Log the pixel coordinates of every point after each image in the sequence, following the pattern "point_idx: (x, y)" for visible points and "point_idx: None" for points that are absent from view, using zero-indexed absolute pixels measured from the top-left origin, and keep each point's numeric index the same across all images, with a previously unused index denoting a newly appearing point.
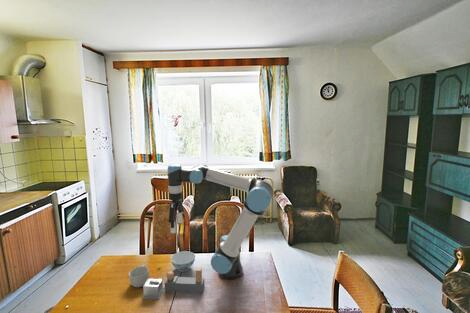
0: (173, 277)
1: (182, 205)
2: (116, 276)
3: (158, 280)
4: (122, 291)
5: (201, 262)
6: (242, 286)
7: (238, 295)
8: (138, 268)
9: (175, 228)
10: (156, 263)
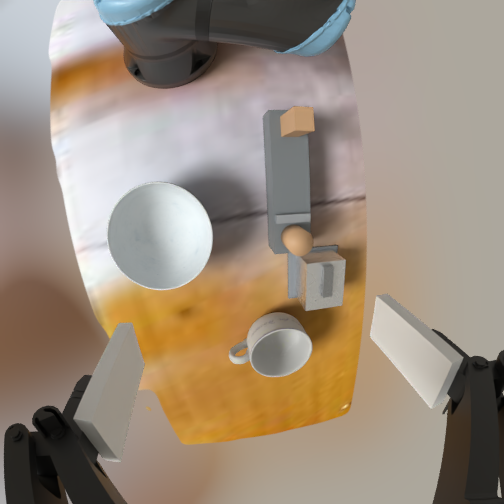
0: (296, 226)
1: (8, 489)
2: (246, 395)
3: (325, 271)
4: None
5: (116, 171)
6: None
7: None
8: (255, 365)
9: (407, 316)
10: (159, 332)
